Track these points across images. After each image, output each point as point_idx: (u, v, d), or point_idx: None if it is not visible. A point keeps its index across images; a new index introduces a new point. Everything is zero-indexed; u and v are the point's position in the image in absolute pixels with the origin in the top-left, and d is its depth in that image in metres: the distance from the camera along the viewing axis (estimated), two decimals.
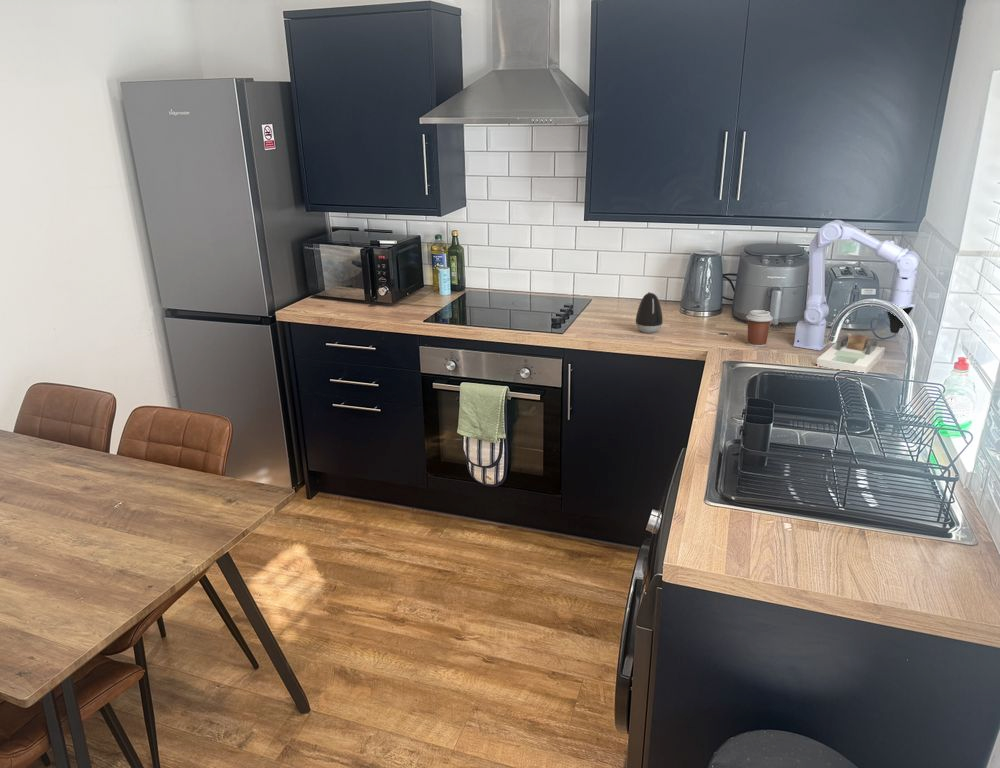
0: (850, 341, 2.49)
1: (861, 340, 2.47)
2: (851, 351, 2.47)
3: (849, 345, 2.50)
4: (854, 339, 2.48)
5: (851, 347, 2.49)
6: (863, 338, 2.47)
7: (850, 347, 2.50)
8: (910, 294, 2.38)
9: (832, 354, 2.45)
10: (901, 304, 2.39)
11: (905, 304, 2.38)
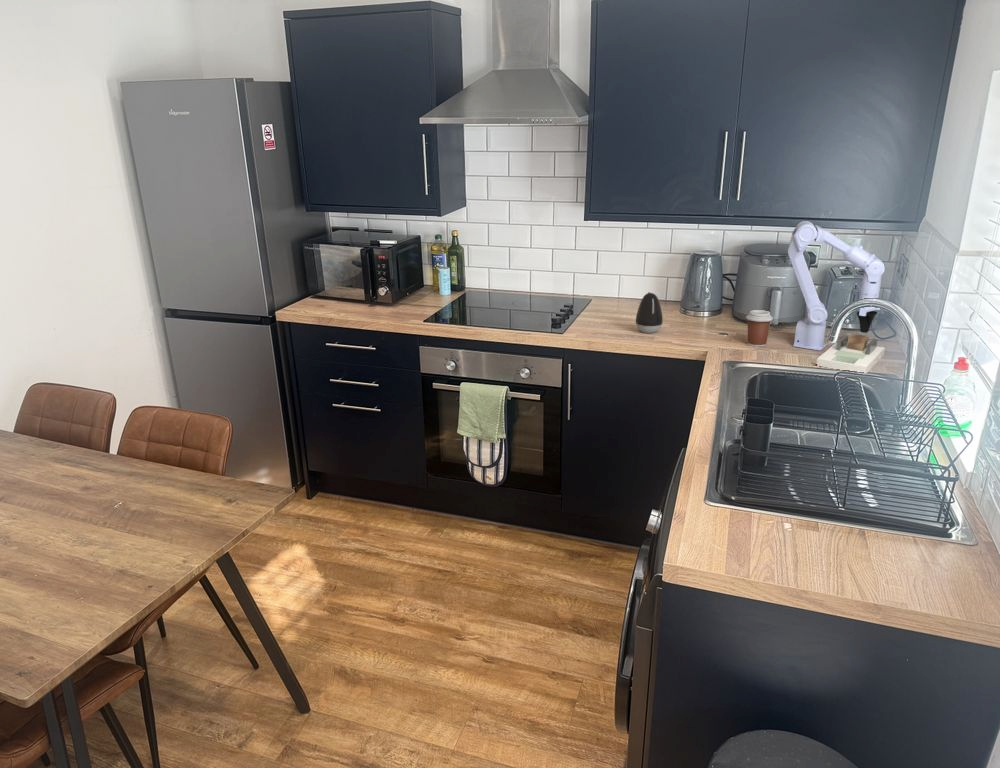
0: (850, 341, 2.49)
1: (861, 340, 2.47)
2: (851, 351, 2.47)
3: (849, 345, 2.50)
4: (854, 339, 2.48)
5: (851, 347, 2.49)
6: (863, 338, 2.47)
7: (850, 347, 2.50)
8: (876, 297, 2.48)
9: (832, 354, 2.45)
10: (867, 307, 2.49)
11: (871, 307, 2.49)
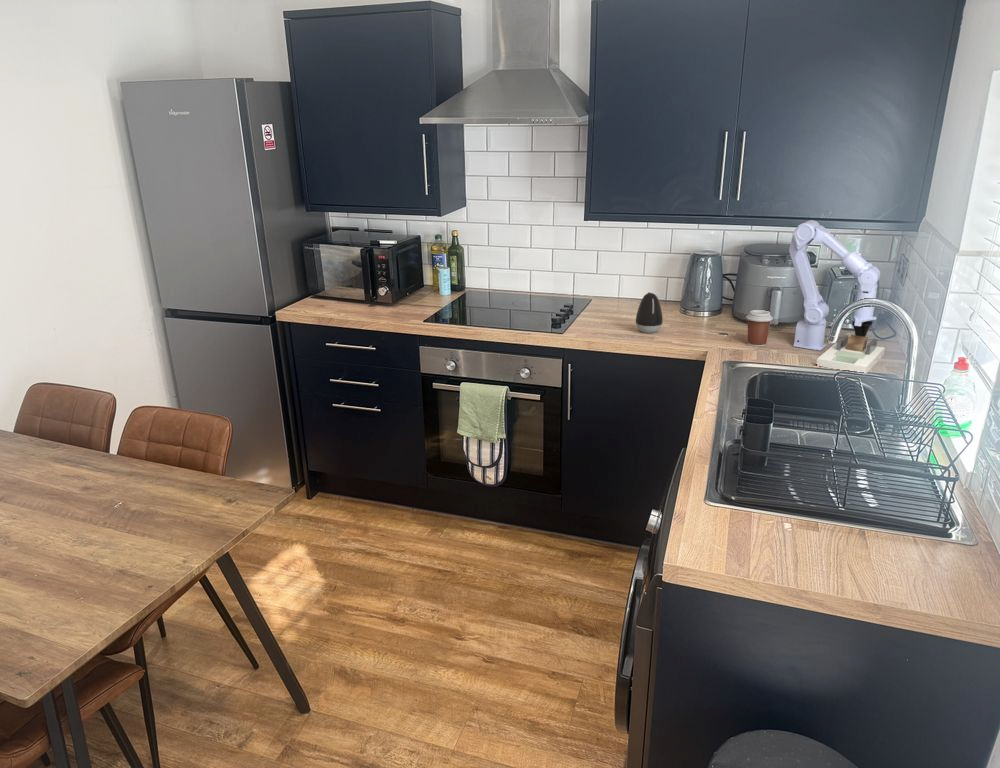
0: (849, 342, 2.48)
1: (860, 341, 2.46)
2: (851, 351, 2.47)
3: (848, 346, 2.49)
4: (853, 340, 2.47)
5: (850, 348, 2.48)
6: (862, 339, 2.47)
7: (849, 348, 2.49)
8: (871, 307, 2.46)
9: (832, 354, 2.45)
10: (863, 317, 2.47)
11: (867, 317, 2.46)
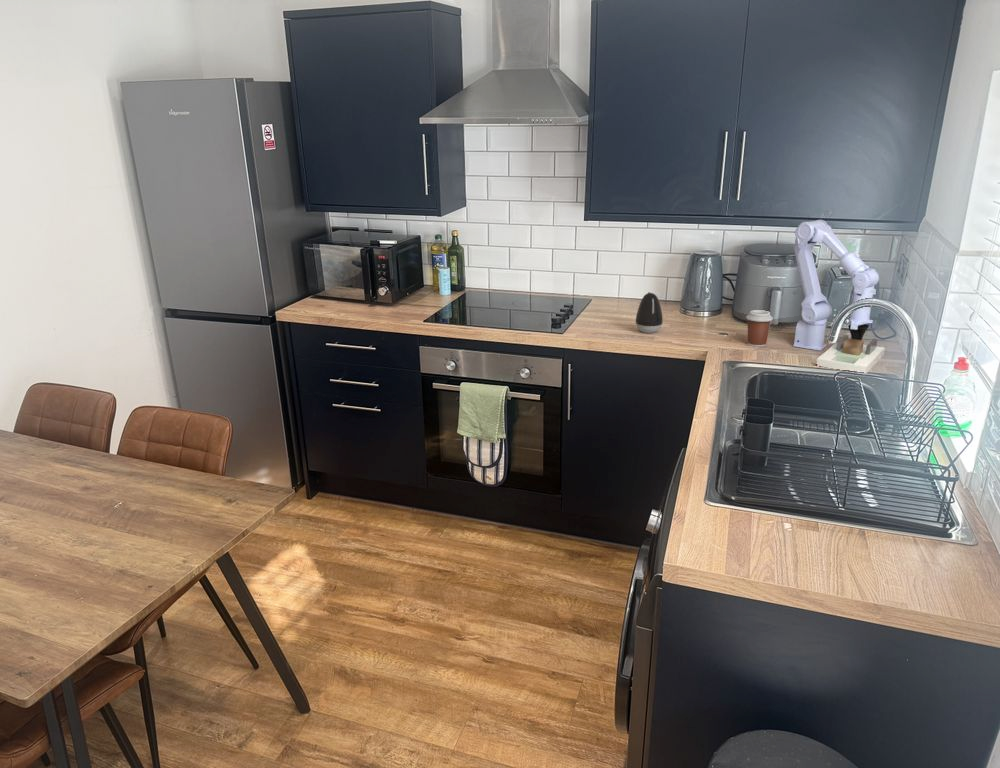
0: (845, 345, 2.44)
1: (857, 344, 2.42)
2: None
3: (844, 349, 2.45)
4: (849, 343, 2.43)
5: (846, 352, 2.45)
6: (859, 342, 2.43)
7: (845, 352, 2.45)
8: (867, 310, 2.42)
9: (832, 354, 2.45)
10: (859, 320, 2.43)
11: (863, 320, 2.42)
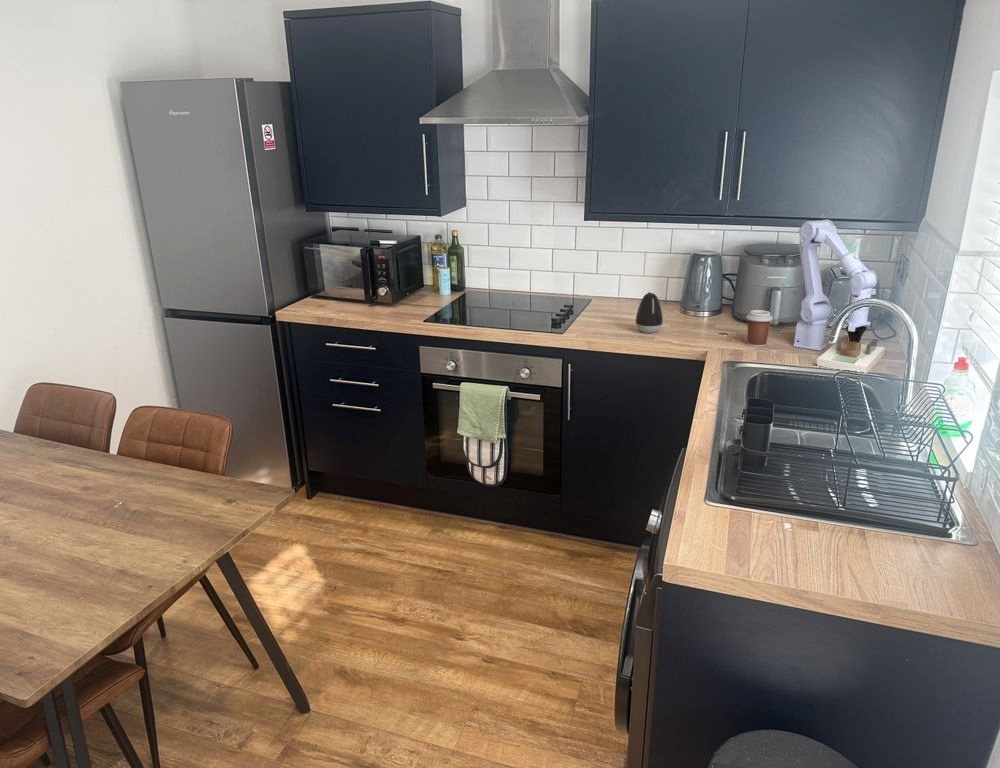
0: (842, 347, 2.42)
1: (854, 347, 2.40)
2: None
3: (842, 352, 2.43)
4: (847, 345, 2.41)
5: (844, 354, 2.42)
6: (856, 344, 2.40)
7: (843, 354, 2.43)
8: (865, 312, 2.39)
9: (832, 354, 2.45)
10: (857, 322, 2.41)
11: (860, 322, 2.40)
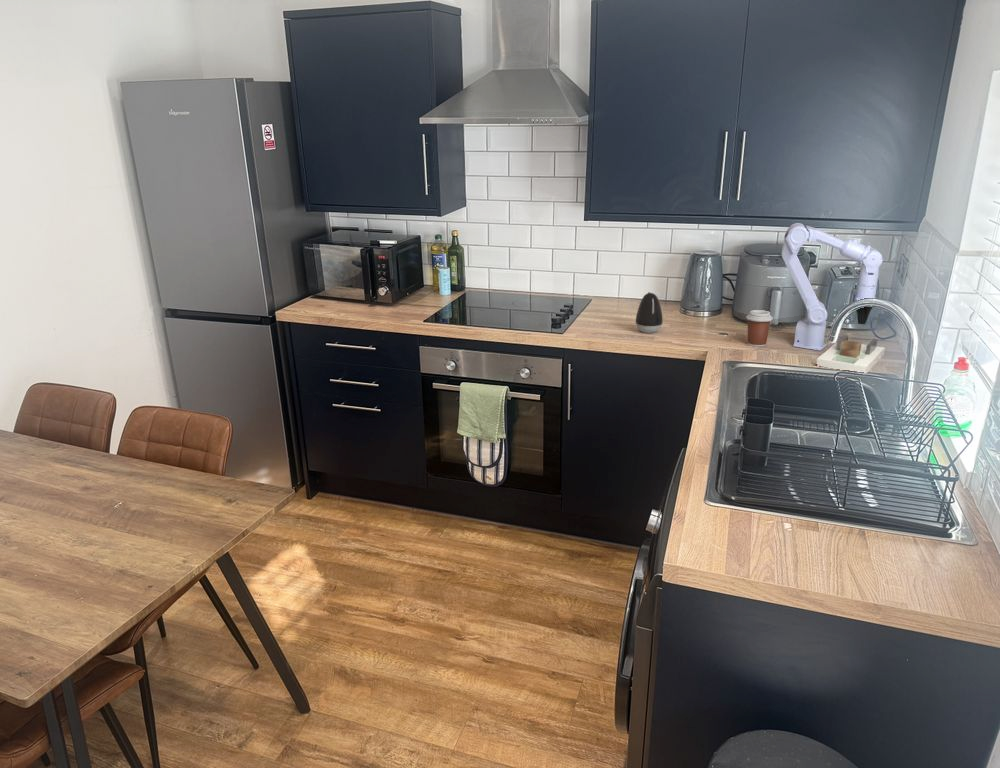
0: (842, 347, 2.42)
1: (854, 346, 2.40)
2: None
3: (842, 352, 2.43)
4: (847, 345, 2.41)
5: (844, 354, 2.42)
6: (856, 344, 2.40)
7: (843, 354, 2.43)
8: (873, 289, 2.48)
9: (832, 354, 2.45)
10: None
11: None
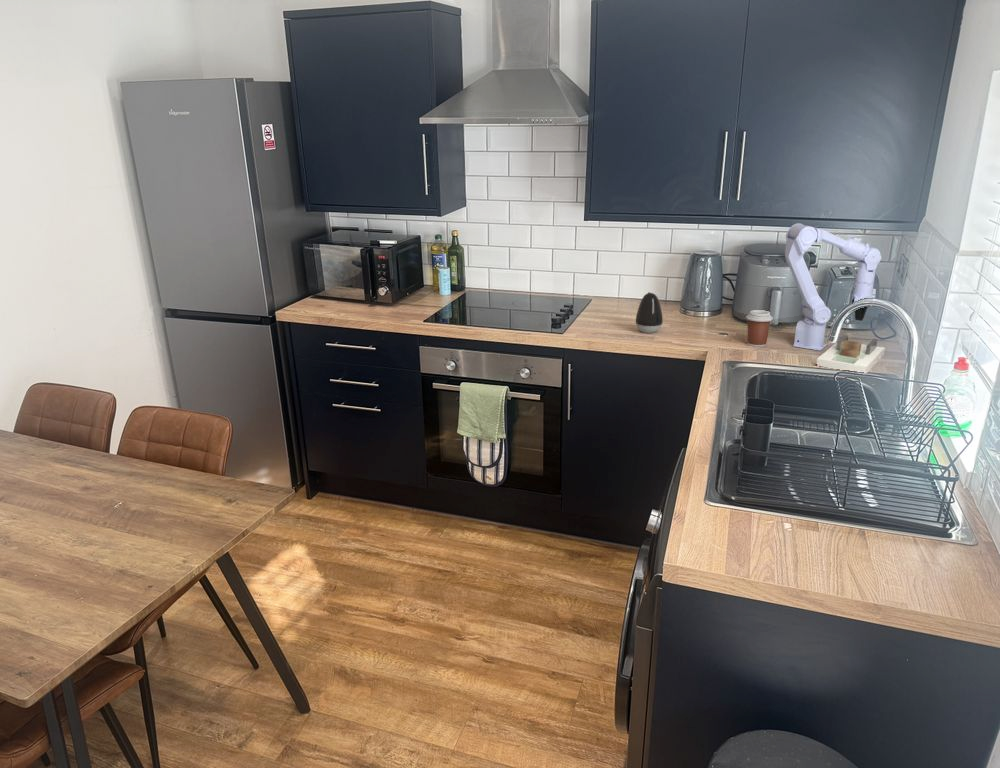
0: (842, 347, 2.42)
1: (854, 346, 2.40)
2: None
3: (842, 352, 2.43)
4: (847, 345, 2.41)
5: (844, 354, 2.42)
6: (856, 344, 2.40)
7: (843, 354, 2.43)
8: (870, 286, 2.52)
9: (832, 354, 2.45)
10: (862, 295, 2.54)
11: (866, 295, 2.53)
